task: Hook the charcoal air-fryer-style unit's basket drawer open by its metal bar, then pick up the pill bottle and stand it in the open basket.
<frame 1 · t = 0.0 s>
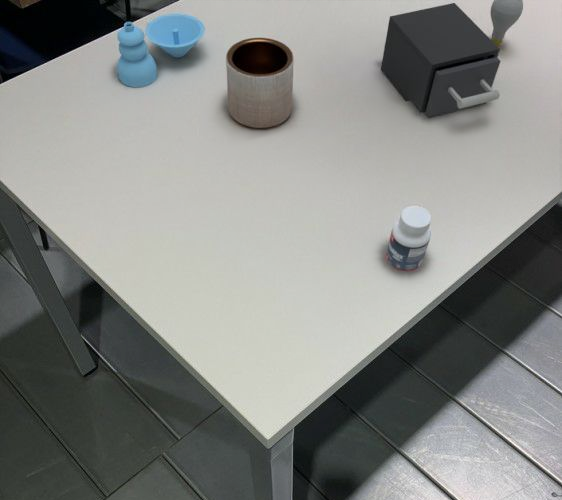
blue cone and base: (162, 63, 112), on the table
pill bottle: (402, 262, 89), on the table
light bulb: (493, 49, 117), on the table
basket: (450, 75, 104), point 5 cm above the table, slide at 0.5 cm
fryer: (430, 85, 110), on the table
planter: (260, 111, 106), on the table
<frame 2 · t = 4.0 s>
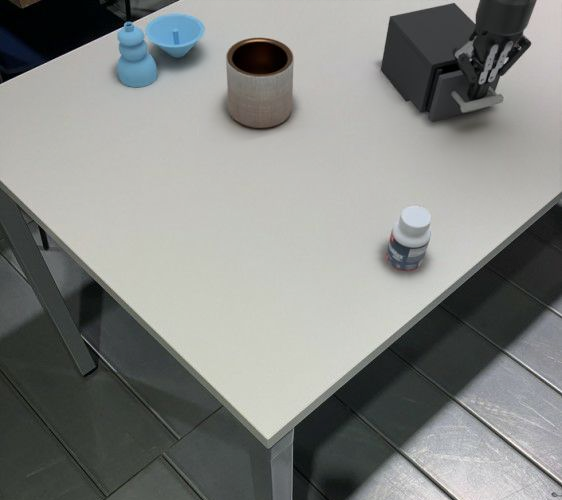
hand: (474, 100, 100), 5 cm above the table, tool pointing down, fingers closed
basket: (453, 78, 104), point 5 cm above the table, slide at 1.6 cm, touching gripper
everything else where it was.
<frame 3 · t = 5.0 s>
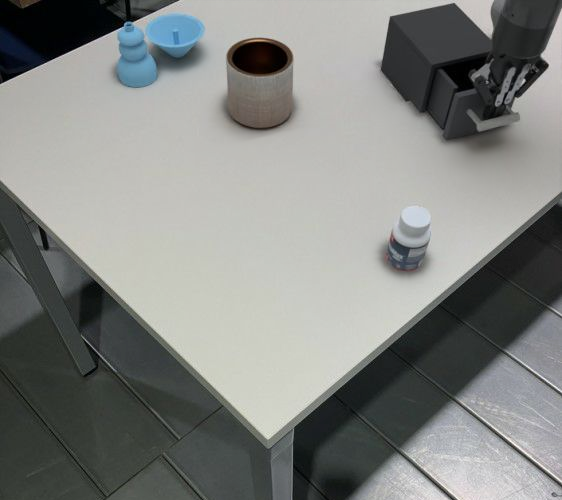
hand: (490, 121, 99), 4 cm above the table, tool pointing down, fingers closed
basket: (468, 95, 101), point 5 cm above the table, slide at 6.5 cm, touching gripper
everything else where it was.
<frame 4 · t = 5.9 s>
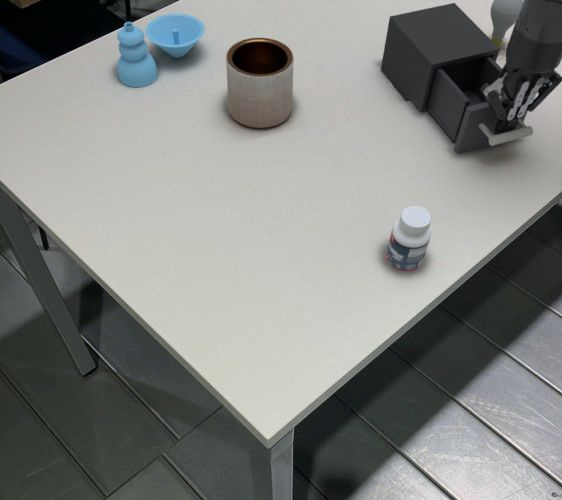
hand: (502, 135, 97), 4 cm above the table, tool pointing down, fingers closed
basket: (480, 108, 100), point 5 cm above the table, slide at 10.0 cm, touching gripper
everything else where it was.
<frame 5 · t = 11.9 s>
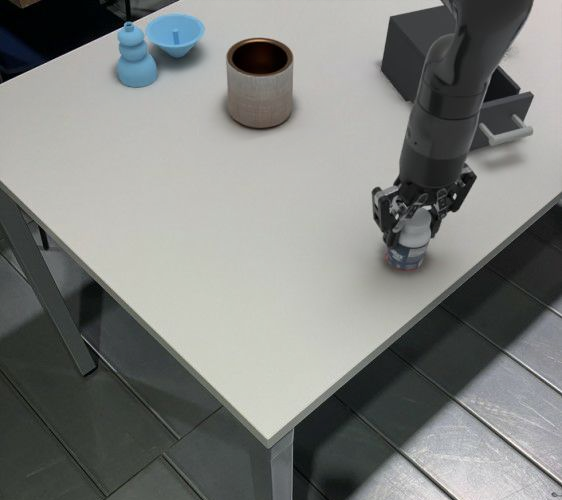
hand: (409, 239, 85), 4 cm above the table, tool pointing down, fingers closed on pill bottle, 5 cm apart
pill bottle: (402, 262, 89), on the table, touching gripper
basket: (480, 108, 100), point 5 cm above the table, slide at 10.1 cm
everything else where it was.
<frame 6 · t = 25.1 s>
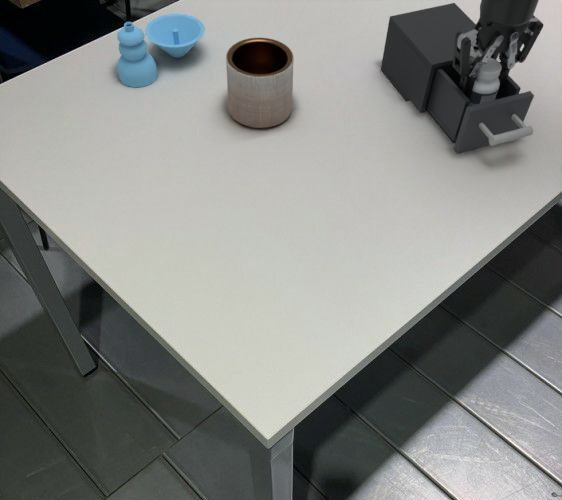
hand: (480, 91, 98), 7 cm above the table, tool pointing down, fingers closed on pill bottle, 5 cm apart
pill bottle: (471, 116, 102), point 2 cm above the table, touching gripper
everything else where it was.
when the fingers open (8 cm above the table, at t = 27.3 s): pill bottle drops 1 cm, resting on basket.
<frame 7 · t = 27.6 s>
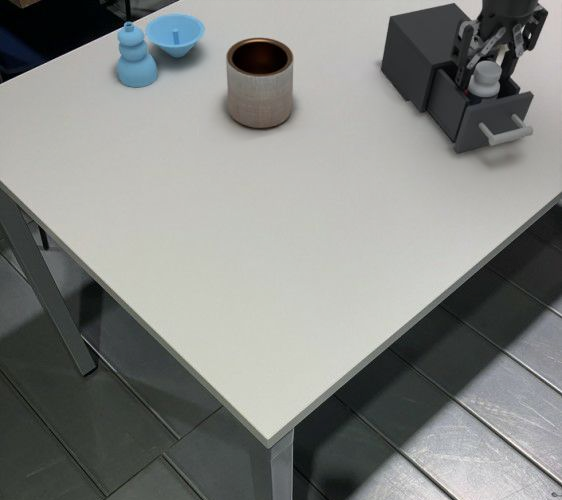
hand: (482, 81, 97), 9 cm above the table, tool pointing down, fingers open, 7 cm apart
pill bottle: (471, 119, 103), point 2 cm above the table, touching basket
basket: (480, 108, 100), point 5 cm above the table, slide at 10.0 cm, touching pill bottle
everything else where it was.
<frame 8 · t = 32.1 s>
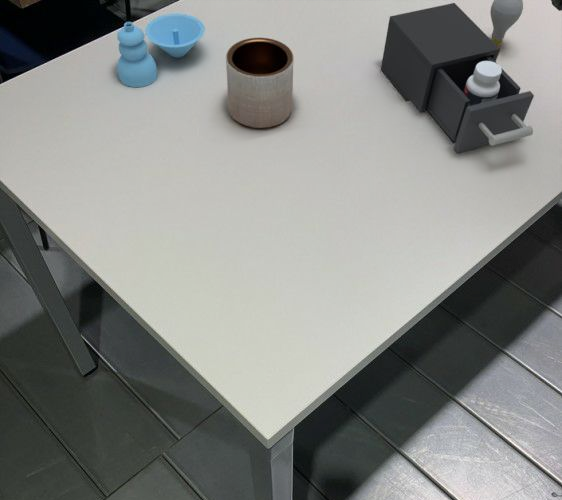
nothing on the table moved.
at the end: basket slide at 10.0 cm; pill bottle inside the target area in the basket (1.7 cm from its centre), point 1.8 cm above the fryer's base; pill bottle tilted 0° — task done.
